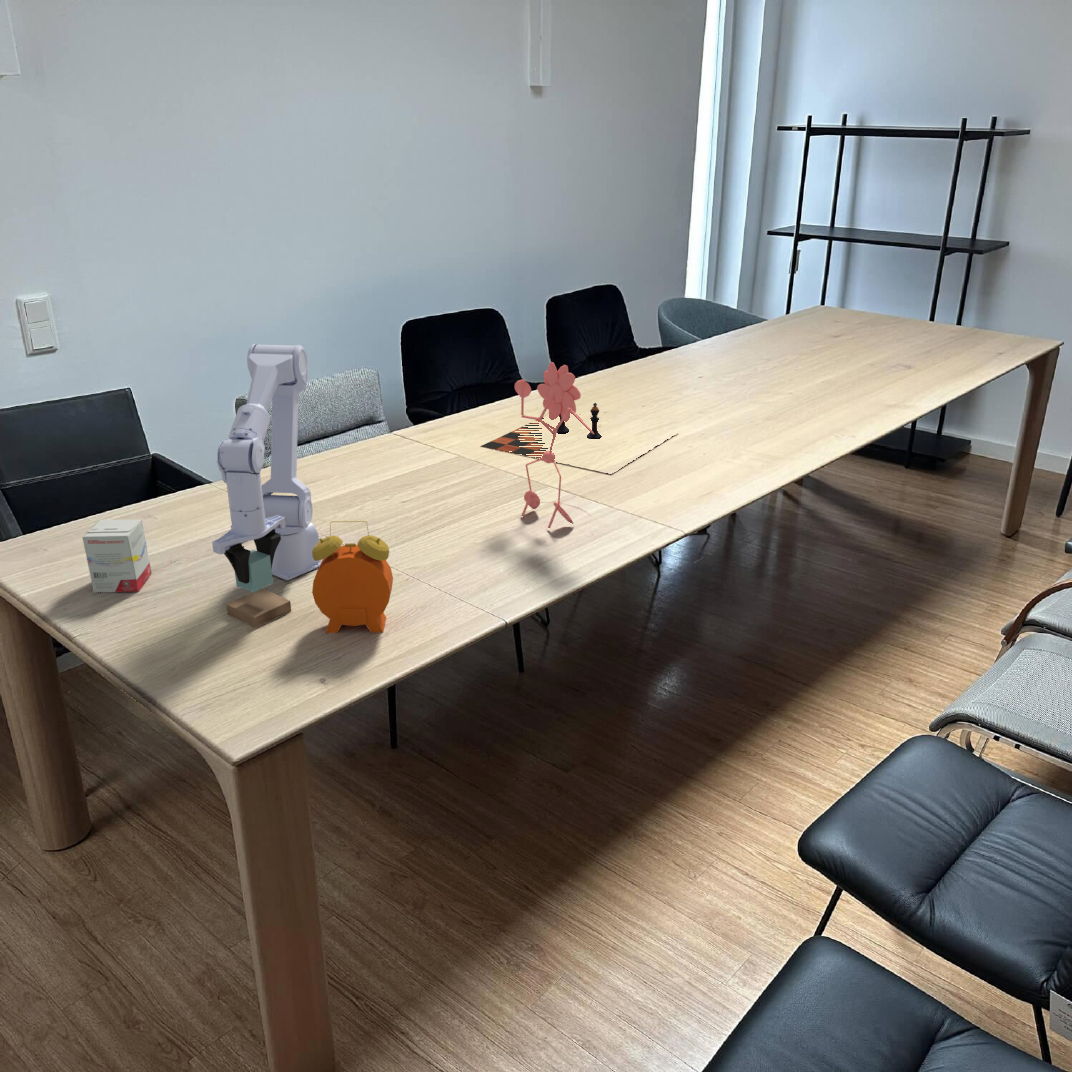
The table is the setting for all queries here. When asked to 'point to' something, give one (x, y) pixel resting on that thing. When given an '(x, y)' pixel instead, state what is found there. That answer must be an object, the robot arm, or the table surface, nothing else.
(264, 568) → the teal block
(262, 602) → the walnut slab
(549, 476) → the table surface
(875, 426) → the table surface
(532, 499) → the figurine
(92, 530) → the ink box
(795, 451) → the table surface
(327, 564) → the alarm clock
